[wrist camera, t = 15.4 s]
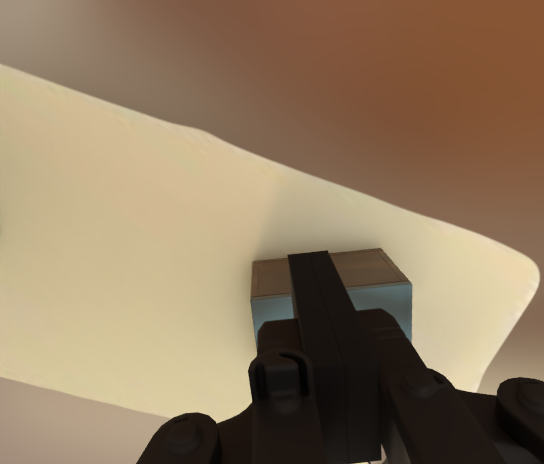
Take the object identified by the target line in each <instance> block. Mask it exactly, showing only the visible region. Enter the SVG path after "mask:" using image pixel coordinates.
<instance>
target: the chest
mask: <svg viewBox="0 0 544 464" xmlns="http://www.w3.org/2000/svg"><path fill="white" fill-rule="evenodd" d="M329 255H330V257H331V259H332V261H333V263H334V265H335V267H336V269H337V271H338V274H339V276H340V278H341V280H342V282H343V284H344V286H345V288H347V287H356V286H366V285H375V284H385V283H395V282H404V281H409V280H408V279H407V277H406V276H405V275H404V274H403V273H402V272H401V271H400V269H399V268H398V267H397V266H396V265H395V264H394V263H393V261H392V260H391V259H390V258H389V257H388V256H387V255H386V253H385V252H384V251H383V250H382V249H381V248H379V249H370V250H360V251H351V252H341V253H331V254H329ZM289 293H291V284H290V274H289V264H288V258H284V259H274V260H265V261H255V262H253V265H252V282H251V297H260V296H270V295H279V294H289Z"/></svg>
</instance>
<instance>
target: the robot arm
mask: <svg viewBox="0 0 544 464" xmlns="http://www.w3.org/2000/svg"><path fill="white" fill-rule="evenodd" d="M288 264H289V274H290V284H291V295H292V305H293V316H294V318H292V319H282V320H273V321H264V323H263V324H262V326H261V327H260V329H259V330H258V334H257V344H258V345H257V357H256V358H255V359H254V360H253V361H252V362H251V364H250V366H249V369H248V374H249V381H250V388H251V395H252V403H251V404H250V405H249V406H248V408H247V409H246V410H244V411H243V412H241V413H240V414H239V415H237V416H234V417H232V418H230V419H228V420H225V421H222V422H220V423H217V424H216V421H214V420H213V419H212V418H211V417H210V416H208V415H205V414H202V413H198V412H197V413H185V414H182V415H179V416H177V417H174V418H172V419H171V420H169V421H168V422H166V423H165V424H163V425H162V426H161V427H160V428H159V430H158V431H157V432H156V433H155V434H154V435H153V437H152V439H151V440H150V442H149V443H148V445H147V447H146V448H145V450H144V452H143V453H142V455H141V457H140V458H139V460H138V462H137V463H136V464H353V463H363V462H373V461H382V453H381V444H382V447H383V449H384V452H385V455H386V458H387V460H388V464H544V382H543V381H540V380H537V379H530V378H522V377H519V378H511V379H508V380H506V381H504V382H502V383H501V384H500V386H499V388H498V390H497V396H495V395H487V394H480V393H472V392H467V391H462V390H458V389H455V388H454V386H453V385H452V383H451V382H450V381H449V380H448V379H447V378H446V377H445V376H444V375H442V374H440V373H438V372H436V371H435V370H433V369H429V368H427V367H426V366H425V364H424V362H423V361H422V359H421V358H420V356H419V355H418V353H417V352H416V350H415V348H414V347H413V345H412V344H411V342H410V341H409V339H408V338H406V335H405V333H404V331H403V330H402V329H401V328H400V325H399V324H398V322H397V321H396V319H395V318H394V316H393V315H391V314H389V313H388V312H386V311H385V310H383V309H382V308H377V309H367V310H357V311H356V309H355V307H354V305H353V303H352V301H351V299H350V297H349V295H348V292H347V290H346V288H345V286H344V284H343V282H342V280H341V278H340V276H339V274H338V271H337V269H336V267H335V265H334V263H333V261H332V259H331V257H330V255H329V253H328V251H319V252H309V253H300V254H290V255H288Z"/></svg>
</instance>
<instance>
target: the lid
mask: <svg viewBox="0 0 544 464" xmlns="http://www.w3.org/2000/svg"><path fill="white" fill-rule="evenodd" d="M346 290H347V292H348V295H349V297H350V299H351V301H352V303H353V305H354V307H355V309H356V311H357V310H367V309H377V308H382V309H383V310H385V311H386V312H388V313H389V314H391V315H393V316H394V318H395V319H396V321H397V322H398V324H399V325H400V328H401V329H402V330H403V331H404V333H405V335H406V338H408V339H409V341H410V342H412V283H411V282H410V281H404V282H395V283H385V284H375V285H366V286H356V287H347V288H346ZM250 302H251V309H252V317H253V324H254V332H255V339H256V347H257V345H258V344H257V334H258V330H259V329H260V327H261V326H262V324H263V323H264V321H273V320H282V319H292V318H294V316H293V305H292V295H291V293H289V294H279V295H270V296H260V297H251V300H250Z"/></svg>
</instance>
